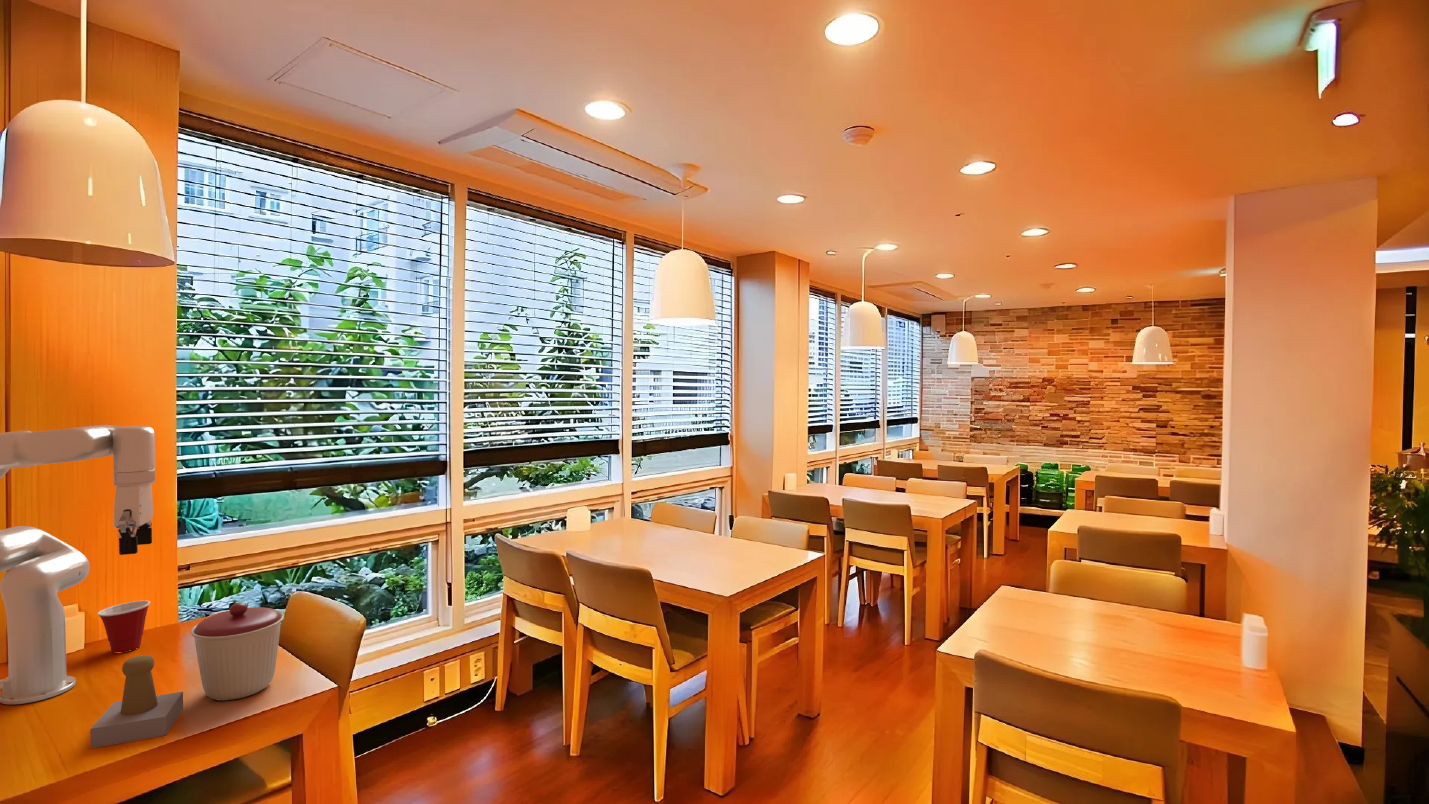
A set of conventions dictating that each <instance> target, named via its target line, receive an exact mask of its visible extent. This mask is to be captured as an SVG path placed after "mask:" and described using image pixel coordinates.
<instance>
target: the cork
mask: <svg viewBox="0 0 1429 804" xmlns="http://www.w3.org/2000/svg"><path fill="white" fill-rule="evenodd" d="M154 667H155V659H154V657H153V656H152V655H147V654H142V655H137V656H133V657H131V658H127V660H125V661H124V662H123V664H122V668H121V671H122V674H123V675H124V676H125V680H124V687H123V695H122V698H121V699H122V700H121V701H122V706H121V713H120V714H122V715H136V714H141V713H144V712H147V711H149V710H152V709H153V708H155V707H156V706H157V705H158V702H157V697H156V696H157V693H156V688H155V682H154V678H153V673H152V670H153V669H154Z"/></svg>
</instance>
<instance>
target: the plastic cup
mask: <svg viewBox="0 0 1429 804" xmlns="http://www.w3.org/2000/svg"><path fill="white" fill-rule="evenodd" d="M150 605H151V601H150V600H136V601H130V602H125V603H119V604H115V605H113V606H108V607H106V608H104V609H101V610H99V611H98V612H97V616H98V617H99V618H100V619H101V620H102V624H103V625H104V630H105V633H106V637H107V641H108V642H109V647H110V649H111V652H112V651H113V652H126V651H129V650H133V651H135V650H134V649H136V648H138V647H139V648H140V647H141V645H142V638H143V636H144V635H143V634H144V630H145V625H146V624H145V623H146V617H147V615H148V614H147V613H148V608H149V606H150ZM139 648H138V649H139ZM136 650H137V649H136ZM113 652H112V653H113ZM126 653H127V652H126Z"/></svg>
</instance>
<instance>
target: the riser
mask: <svg viewBox="0 0 1429 804" xmlns="http://www.w3.org/2000/svg"><path fill="white" fill-rule="evenodd" d="M156 697H157V702H158V705H157V706H156V707H155V708H153V709H152V710H149V711H147V712H144V713H141V714H136V715H122V714H120V713H121V706H122V700H119V701H118V700H117V701H114V702H113V703H112V704H111V705H110V706H109V707H108V709H107V710H106V711H105V712H104V713H103V714H102V715H101V716H100V717H99V718H98V719H97V720H96V722H95V723H94V724H93V725H92V726H91V728H90V749H95V748H100V747H105V746H106V747H107V746H112V745H118V744H123V743H129V742H136V741H141V740H146V739H147V740H148V739H153V738H158V737H164V736H166V735H167V734H168V733H169V732H170V730H171V728H172V727H173V725H174V724H175V723H176V721H177V719H178V718H179V716H180V715H181V713H182V712H183V710H184V691H177V692H172V693H171V692H170V693H165V694H158V695H157V694H156ZM173 723H174V724H173ZM169 729H170V730H169Z"/></svg>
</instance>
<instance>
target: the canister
mask: <svg viewBox="0 0 1429 804" xmlns="http://www.w3.org/2000/svg"><path fill="white" fill-rule="evenodd" d="M284 619H285V614H284V613H283V612H282V611H280V610H276V609H274V608H271V607H266V606H265V607H261V606H255V607H254V606H253V607H248V605H247V603H245V602H235V603H233V604H232V605H231V606H230V607H229V609H228V610H227V611H222V612H219V613H217V614H213V615H211V616H208V617H207V618H204V619H203V620H201V621H200V622H198V623H197V624H195V625H194V626H193V627H192V628H191V629H190V633H189V634H190V635H191V636H192V637H194V644H195V650H196V655H197V656H196V657H197V663H198V669H199V670H198V671H199V675H200V679H201V680H200V681H201V685H202V689H203V691H204V693H205V695H206V696H207V697H208V698H210V699H212V700H216V701H230V700H238V699H242V698H246V697H249V696H252V695H255V694H256V693H259V692H261V691H263V690H264V689H266V688H267V687H268V686H269V685H270V684H271V683H272V681H273V678H274V676H275V672H276V665H277V659H278V650H279V644H280V643H279V641H280V635H281V633H280V631H281V623H282V622H283V621H284Z"/></svg>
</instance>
